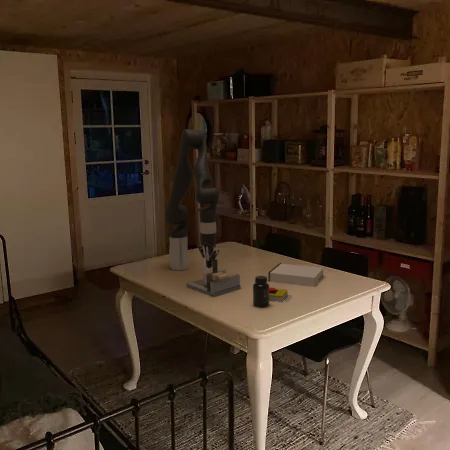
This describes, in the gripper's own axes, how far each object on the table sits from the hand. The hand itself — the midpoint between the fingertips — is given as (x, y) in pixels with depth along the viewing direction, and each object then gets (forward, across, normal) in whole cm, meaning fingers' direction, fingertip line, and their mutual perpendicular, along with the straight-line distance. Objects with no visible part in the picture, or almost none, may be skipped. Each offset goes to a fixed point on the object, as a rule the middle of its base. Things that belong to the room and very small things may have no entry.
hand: (209, 267), depth 237 cm
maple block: (+8, -8, 0) cm, 11 cm away
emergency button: (+10, -31, -10) cm, 34 cm away
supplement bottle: (+9, -34, 0) cm, 35 cm away
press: (+9, -3, 0) cm, 10 cm away
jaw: (+7, -4, 0) cm, 9 cm away
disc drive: (+10, -21, -38) cm, 44 cm away
